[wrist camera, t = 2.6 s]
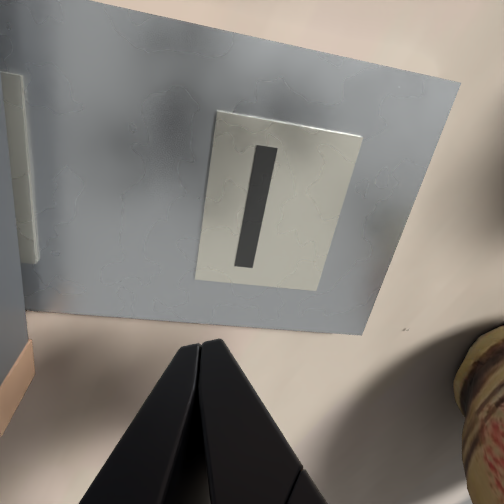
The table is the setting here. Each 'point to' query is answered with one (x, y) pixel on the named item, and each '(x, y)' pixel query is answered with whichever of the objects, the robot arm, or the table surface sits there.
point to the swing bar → (11, 296)
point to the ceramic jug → (483, 417)
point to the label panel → (206, 169)
